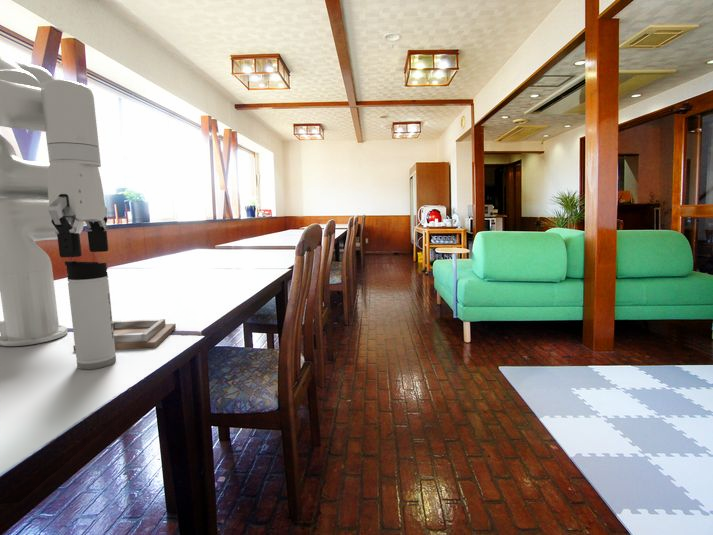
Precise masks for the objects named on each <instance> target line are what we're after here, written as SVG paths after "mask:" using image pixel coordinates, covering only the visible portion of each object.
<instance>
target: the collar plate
mask: <svg viewBox="0 0 713 535" xmlns="http://www.w3.org/2000/svg"><path fill="white" fill-rule="evenodd" d="M112 323H113V333H114V343H115V350H132V349H133V350H134V349H135V350H136V349H151V348H152V349H155V348H158V346H159V345H160V344H161V343H162V342H163V341H164V340H166V339H167V338H168V337H169V335H171V334H172V333H173V332H174V331H175V330H176V329H175V328H176V323H166V319H165V318H160V319H159V318H158V319H157V318H156V319H155V318H154V319H134V320H133V319H131V320H112ZM174 329H175V330H174ZM173 330H174V331H173ZM172 331H173V332H172ZM73 352H76V351H75V344H74V345H73Z"/></svg>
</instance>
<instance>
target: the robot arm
mask: <svg viewBox="0 0 713 535" xmlns="http://www.w3.org/2000/svg"><path fill="white" fill-rule="evenodd" d="M97 124H98V123H97V115H96V107H95V98H94V94H93V91H92V90H91V89H90V87H88V86H87V85H85V84H83V83H81V82H80V83H79V82H78V81H72V80H68V79H67V80H66V79H55V78H54V76H53V75H52V74H51V72H49V70H47V69H45V67H42V66H39V65H35V64H30V63H26V62H22V61H18V60H13V59H10V58H6V57H2V56H0V127H2V128H3V127H4V128H9V129H14V130H15V129H18V130H25V131H34V132H35V131H36V132H41V133H45V138H46V147H47V152H48V160H49V161H48V162H46V161H36V160H34V161H33V160H25V159H21V158H19V157H18V155H17V153H16V151H15V148H14V146H13V145H12V144H11V143H10V141H8V139H6V138H5V137H4V136H3V135H2V134H0V301H1V307H2V308H1V309H2V315H3V321H0V346H3V347H23V346H30V345H36V344H41V343H46V342H51V341H55V340H57V339H60V338H62V337H65V336H66V335H67V334H68V330H69V329H68V327H67V326H65V325H60V324H59V323H60V322H59V316H58V308H57V297H56V290H55V284H54V283H55V282H54V281H55V280H54V272H53V264H52V259H51V258H50V256H49V254H48V253H47V252H46V251H45V250H44V249H43V248H41V247H40V246H39V245H38V244H37V243H36V242H39V241H48V240H50V241H51V240H57V244H58V252H59V256H60V258H80V257H81V256H82V255H83V254H82V247H81V237H80V234H81V233H82V231H83V229H84V225H85V224H86V225H87V227H88V229H89V230H87V240H88V249H89V252H90V253H96V252H97V253H99V252H100V253H101V252H108V251H109V240H108V233H107V232H108V231H107V230H108V226H107V222H108V218H107V217H108V208H107V206H105V204H106V203H105V197H104V188H103V183H102V179H101V178H102V177H101V174H100V170H99V168H101V167H102V164H101V153H100V144H99V136H98V125H97ZM84 222H85V224H84Z"/></svg>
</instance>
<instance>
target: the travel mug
mask: <svg viewBox="0 0 713 535" xmlns="http://www.w3.org/2000/svg"><path fill="white" fill-rule="evenodd" d="M64 266H66V273H67V282H68V283H67V287H68V297H69V303H70V304H69V305H70V312H71V315H70V316H71V322H72V323H71V324H72V330H73V331H72V334H73V339H74V340H73V341H74V345H75V351H74V352H75V358H76V366H77V368H79V369H80V370H87V371H88V370H96V369H101V368H105V367H108V366H111V365H112V364H113V363H116V360H117V356H116V355H117V354H116V349H115V343H114V333H113V323H112V321H113V315H112V314H113V312H112V306H111V305H112V304H111V293H110V283H109V282H110V281H109V275H108V272H107V271H108V266H107V262H98V261H76V260H65V261H64Z"/></svg>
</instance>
